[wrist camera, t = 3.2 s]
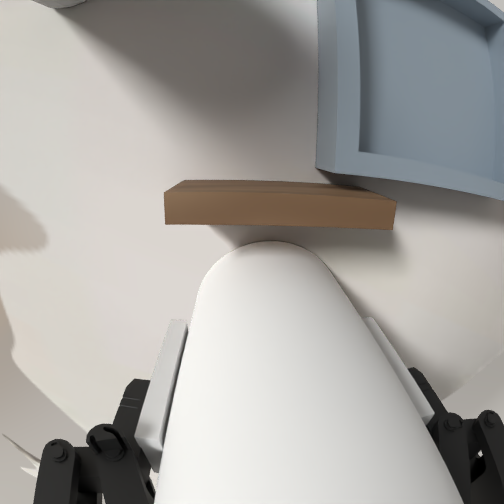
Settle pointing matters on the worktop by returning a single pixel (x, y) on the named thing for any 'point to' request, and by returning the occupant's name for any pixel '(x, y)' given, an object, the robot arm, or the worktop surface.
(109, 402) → the worktop surface
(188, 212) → the clip rails
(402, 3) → the tray
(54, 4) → the coffee cup
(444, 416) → the robot arm
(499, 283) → the worktop surface
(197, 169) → the worktop surface
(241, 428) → the cup
